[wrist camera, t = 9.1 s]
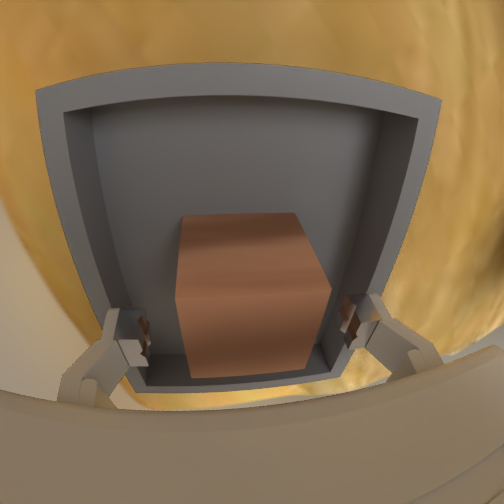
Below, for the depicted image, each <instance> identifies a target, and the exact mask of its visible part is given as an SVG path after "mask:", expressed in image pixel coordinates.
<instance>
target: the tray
mask: <svg viewBox="0 0 504 504" xmlns="http://www.w3.org/2000/svg"><path fill="white" fill-rule="evenodd" d="M36 100H37V110H38V118H39V125H40V132H41V138H42V144H43V150H44V155H45V160H46V165H47V170H48V175H49V179H50V183H51V188H52V192H53V196H54V200H55V203H56V207H57V211H58V214H59V218H60V221H61V225H62V228H63V231H64V234H65V237H66V240H67V244H68V247H69V249H70V252H71V255H72V258H73V261H74V264H75V266H76V269H77V272H78V274H79V277H80V280H81V282H82V285H83V287H84V290H85V292H86V295H87V297H88V299H89V302H90V304H91V306H92V309H93V311H94V313H95V315H96V318H97V320H98V322H99V324H100V326H101V328H102V330H103V326H104V322H105V318H106V315H107V311H108V309H109V308H145V309H146V312H147V320H148V321H149V322H150V325H151V334H152V339H151V344H150V345H149V347H148V348H149V351H150V361H149V366H129V367H130V368H129V369H128V370H127V372H126V373H125V375H126V377H127V378H128V380H129V382H130V384H131V385H132V387H133V389H134V390H135V392H136V393H205V392H225V391H239V390H251V389H261V388H270V387H279V386H287V385H294V384H301V383H308V382H314V381H320V380H326V379H331V378H337V377H340V376H341V374H342V372H343V371H344V369H345V367H346V365H347V363H348V361H349V360H350V358H351V356H352V354H353V352H354V350H355V349H351V350H348V348H347V346H346V343H345V341H344V335H345V333H344V332H342V331H341V330H340V329H339V326H338V322H337V314H338V311H339V309H340V308H341V307H342V306H343V304H342V300H343V298H344V297H345V296H347V295H355V294H363V293H372V292H376V293H378V295H379V296H380V297H381V295H382V292H383V290H384V288H385V285H386V283H387V281H388V278H389V276H390V274H391V271H392V269H393V266H394V264H395V261H396V259H397V256H398V254H399V251H400V248H401V246H402V243H403V240H404V238H405V235H406V232H407V229H408V226H409V224H410V221H411V218H412V215H413V212H414V209H415V206H416V202H417V199H418V196H419V193H420V190H421V186H422V183H423V179H424V176H425V172H426V169H427V165H428V161H429V157H430V153H431V149H432V145H433V141H434V137H435V132H436V128H437V123H438V118H439V113H440V108H441V102H442V100H441V99H438V98H435V97H432V96H429V95H426V94H423V93H420V92H417V91H414V90H410V89H407V88H404V87H400V86H397V85H393V84H389V83H385V82H381V81H377V80H373V79H368V78H364V77H359V76H354V75H349V74H343V73H338V72H332V71H325V70H319V69H311V68H304V67H295V66H285V65H273V64H257V63H186V64H170V65H159V66H149V67H140V68H133V69H126V70H119V71H113V72H107V73H102V74H96V75H91V76H87V77H82V78H78V79H73V80H69V81H65V82H62V83H58V84H54V85H51V86H47V87H44V88H41V89H38V90H36ZM247 213H295V214H296V216H297V218H298V220H299V222H300V224H301V226H302V228H303V230H304V232H305V234H306V236H307V238H308V240H309V242H310V244H311V246H312V248H313V250H314V252H315V254H316V256H317V259H318V261H319V263H320V265H321V267H322V269H323V271H324V273H325V275H326V278H327V280H328V282H329V284H330V286H331V288H332V290H331V293H330V297H329V300H328V303H327V306H326V309H325V312H324V315H323V318H322V321H321V324H320V327H319V330H318V333H317V336H316V339H315V342H314V345H313V348H312V350H311V353H310V356H309V359H308V362H307V364H306V367H305V369H299V370H292V371H284V372H275V373H266V374H255V375H244V376H230V377H213V378H191V374H190V370H189V365H188V361H187V357H186V352H185V347H184V343H183V338H182V333H181V328H180V323H179V318H178V313H177V307H176V302H175V291H176V278H177V267H178V256H179V246H180V237H181V228H182V220H183V216H187V215H213V214H247Z"/></svg>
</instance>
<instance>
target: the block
mask: <svg viewBox="0 0 504 504" xmlns="http://www.w3.org/2000/svg"><path fill="white" fill-rule="evenodd" d="M331 290H332V288H331V286H330V284H329V282H328V280H327V278H326V275H325V273H324V271H323V269H322V267H321V265H320V263H319V261H318V259H317V256H316V254H315V252H314V250H313V248H312V246H311V244H310V242H309V240H308V238H307V236H306V234H305V232H304V230H303V228H302V226H301V224H300V222H299V220H298V218H297V216H296V214H295V213H247V214H213V215H187V216H183V220H182V228H181V237H180V246H179V256H178V267H177V278H176V291H175V302H176V307H177V313H178V318H179V323H180V328H181V333H182V338H183V343H184V347H185V352H186V357H187V361H188V365H189V370H190V374H191V378H213V377H230V376H244V375H255V374H266V373H275V372H284V371H292V370H299V369H305V367H306V364H307V362H308V359H309V356H310V353H311V350H312V348H313V345H314V342H315V339H316V336H317V333H318V330H319V327H320V324H321V321H322V318H323V315H324V312H325V309H326V306H327V303H328V300H329V297H330V293H331Z"/></svg>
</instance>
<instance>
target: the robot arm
mask: <svg viewBox="0 0 504 504" xmlns="http://www.w3.org/2000/svg"><path fill="white" fill-rule="evenodd" d="M342 304H343V306H342V307H341V308H340V309H339V311H338V314H337V322H338V326H339V329H340V330H341V331H342V332H344V333H345V335H344V341H345V343H346V346H347V348H348V350H351V349H357V348H364V347H365V349H366V350H368V351H369V352H370V353H371V354H372V355H373V356H374V357H375V358H376V359H377V360H379V361H380V362H381V363H382V364H383V365H384V366H385V367H386V368H387V369H388V370H390V371H391V372H392V374H391V376H390V377H389V378H388V380H387V381H386V383H383V384H379V385H375V386H372V387H368V388H364V389H359V390H355V391H351V392H346V393H341V394H337V395H332V396H326V397H321V398H316V399H310V400H304V401H297V402H291V403H284V404H276V405H268V406H259V407H249V408H238V409H224V410H203V411H145V410H144V411H143V410H125V409H117V408H116V406H115V405H114V404H113V403H112V401H111V400H110V399H109V396H110V394H111V393H112V391H113V390H114V389H115V387H116V386H117V384H118V383H119V382H120V380H121V379H122V377H123V376H124V375H125V373H126V372H127V370H128V369H129V368H130V367H129V366H149V361H150V351H149V348H148V347H149V345H150V344H151V339H152V334H151V325H150V322H149V321H148V320H147V312H146V309H145V308H109V309H108V311H107V315H106V318H105V322H104V326H103V331H102V335H101V339H100V340H96V341H95V342H94V343H93V344H92V345H91V346H90V347H89V348H88V349H87V350H86V351H85V352H84V353H83V354H82V355H81V356H80V357H79V358H78V360H76V362H75V363H74V364H73V365H72V366H71V367H70V368H69V369H68V370H67V371H66V372H65V373H64V374H63V375H62V379H61V383H60V388H59V392H58V397H57V402H56V401H50V400H44V399H39V398H34V397H29V396H25V395H20V394H16V393H12V392H7V391H3V390H0V504H504V350H503V349H502V348H500V347H498V346H496V345H491V346H488V347H486V348H483V349H481V350H479V351H476V352H474V353H471V354H469V355H467V356H464V357H462V358H459V359H457V360H454V361H452V362H449V363H446V364H444V363H443V361H442V359H441V357H440V356H439V354H438V352H437V350H436V348H435V347H434V345H433V343H431V342H430V341H428V340H427V339H425V338H424V337H422V336H421V335H419V334H418V333H416V332H415V331H413V330H412V329H410V328H409V327H407V326H406V325H404V324H403V323H401V322H400V321H398V320H397V319H395V318H392V317H391V315H390V314H389V312H388V310H387V308H386V307H385V305H384V303H383V301H382V300H381V298H380V296H379V295H378V293H376V292H372V293H363V294H355V295H347V296H345V297H344V298H343V300H342Z"/></svg>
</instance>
